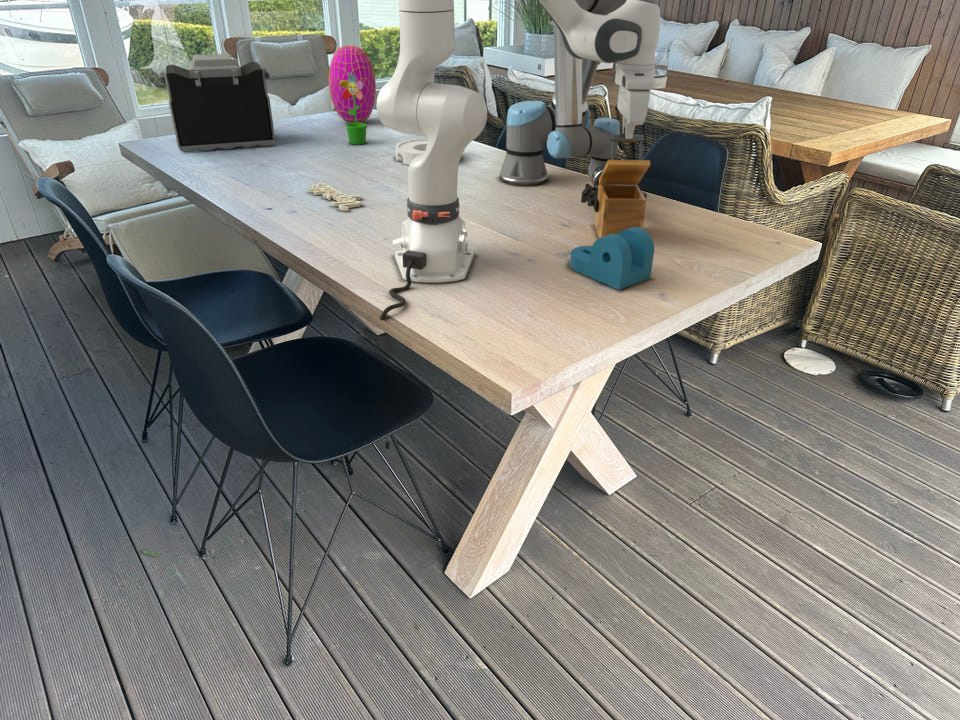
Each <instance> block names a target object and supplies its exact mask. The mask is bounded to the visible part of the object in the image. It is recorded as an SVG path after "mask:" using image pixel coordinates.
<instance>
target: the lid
mask: <svg viewBox="0 0 960 720" xmlns="http://www.w3.org/2000/svg"><path fill="white" fill-rule="evenodd" d="M644 141H645V136H644V134H633V138H632V139H626V138H625V135H623V134H620V135H611V142H612V148H611V160H608V161H607V163H606V166H605V168H604V170H603V172H602V174H601V176H600V178H599V184H622V185H638V186H639V183H640V182H641V180H642V179H643V177H644V175H645V174H646V172H648V170H649V168H650V166H651V160H647V159H643V157H644V155H643V154H644V153H643V152H644V149H643V148H644V147H643V146H644V144H643V143H644ZM615 142H618V143H625V144H626V143H629V144H631V143H632V144H635V143H636V144H638V154H639V155H638V159H617V160H615Z"/></svg>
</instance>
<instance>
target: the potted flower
mask: <svg viewBox="0 0 960 720" xmlns="http://www.w3.org/2000/svg"><path fill="white" fill-rule="evenodd" d="M348 78H349V81H346V80H342V81H341V82H340V83H339V84H340V85H341V86H342V87H343V88H346V89H347V90H345V91H344V93H343V94H342V97H341V99H348V98H350V97H351V96H352V95H353V100H354V110H349V111H348V112H349V114H351V115H355V123H349V122H348V123H347V124H346V125H345V128H346V131H347V136H348V141H349V144H352V145H363V144H366V143H367V129H368V124H367V123H366V122H365V123H364V122H361V123H357V116H356V110H358V109H359V106H356V103H355V95H356V97H357V98H358V99H359V100H362V98H363V93H362V92H361V91H360V90H361V89H363V84H362V82H361V81H358V82H357V83H356V78H355V76H354V75H352V74H350V73H348Z"/></svg>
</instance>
